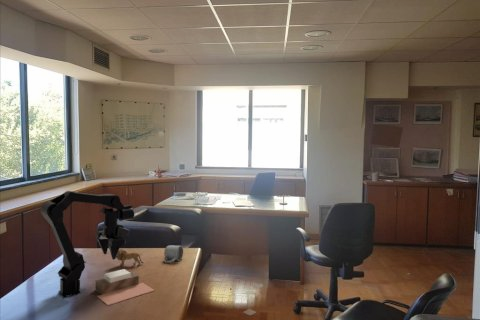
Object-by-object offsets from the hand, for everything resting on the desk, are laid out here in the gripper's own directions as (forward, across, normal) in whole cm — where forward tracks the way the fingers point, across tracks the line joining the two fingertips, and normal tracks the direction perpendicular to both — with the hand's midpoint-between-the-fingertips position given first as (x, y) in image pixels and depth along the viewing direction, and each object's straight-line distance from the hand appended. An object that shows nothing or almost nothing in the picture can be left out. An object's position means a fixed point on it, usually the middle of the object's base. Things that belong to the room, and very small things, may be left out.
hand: (109, 256), depth 154 cm
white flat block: (+6, -9, 0) cm, 11 cm away
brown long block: (+11, -9, 0) cm, 14 cm away
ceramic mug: (+10, +4, -36) cm, 38 cm away
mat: (+11, -18, 0) cm, 21 cm away
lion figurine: (+11, +12, -15) cm, 22 cm away
